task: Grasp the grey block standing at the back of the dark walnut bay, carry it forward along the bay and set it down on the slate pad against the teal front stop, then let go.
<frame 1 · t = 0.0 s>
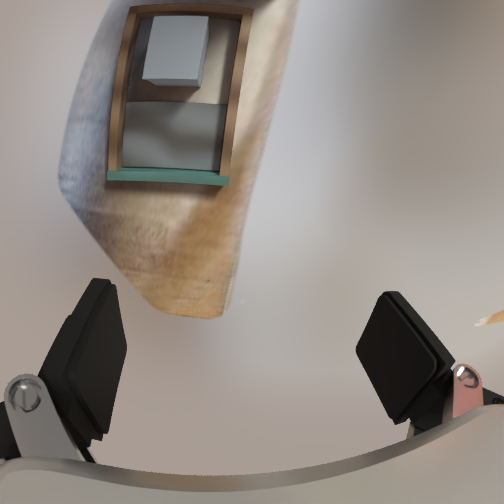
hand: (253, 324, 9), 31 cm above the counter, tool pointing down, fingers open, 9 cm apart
bay: (177, 88, 31), on the counter
grey block: (181, 58, 29), resting in bay
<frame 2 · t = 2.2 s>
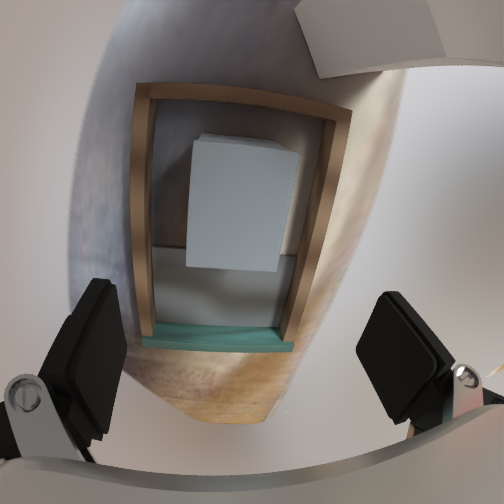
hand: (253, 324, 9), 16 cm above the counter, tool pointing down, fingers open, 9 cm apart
bay: (227, 232, 25), on the counter
milk carton: (341, 39, 18), on the counter
grey block: (232, 183, 23), resting in bay
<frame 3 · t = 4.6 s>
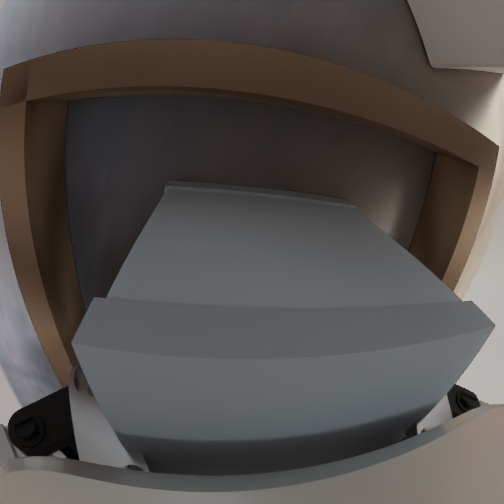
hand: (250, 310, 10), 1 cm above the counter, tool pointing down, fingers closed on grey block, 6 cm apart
bay: (236, 365, 13), on the counter
milk carton: (450, 5, 6), on the counter
grey block: (247, 291, 11), resting in bay, touching gripper
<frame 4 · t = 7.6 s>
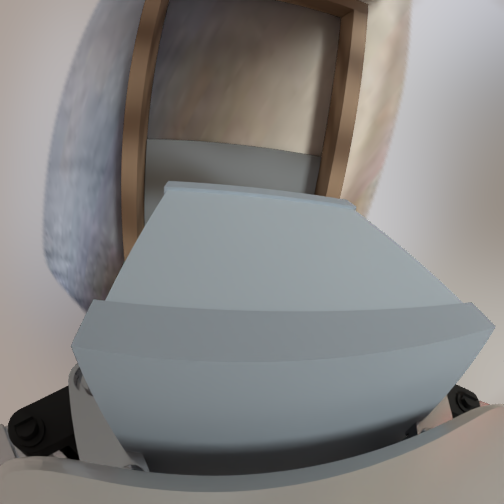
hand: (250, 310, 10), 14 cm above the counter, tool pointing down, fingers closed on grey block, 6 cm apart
bay: (239, 120, 19), on the counter
grey block: (247, 292, 11), point 13 cm above the counter, touching gripper
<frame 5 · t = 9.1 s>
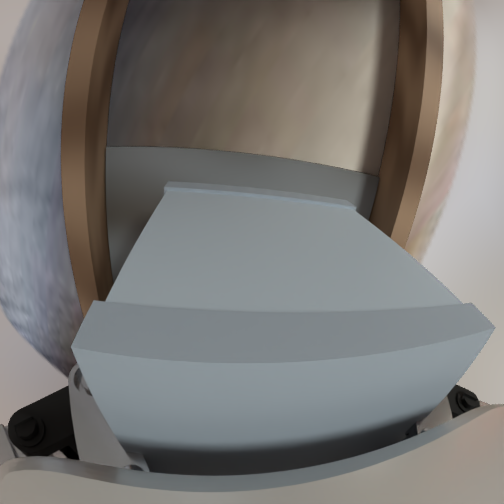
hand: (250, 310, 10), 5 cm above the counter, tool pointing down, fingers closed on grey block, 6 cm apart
bay: (257, 114, 11), on the counter
grey block: (247, 292, 11), point 4 cm above the counter, touching gripper
when the fingers open (3 cm above the counter, at t = 10.5 s): grey block drops 1 cm, resting on bay.
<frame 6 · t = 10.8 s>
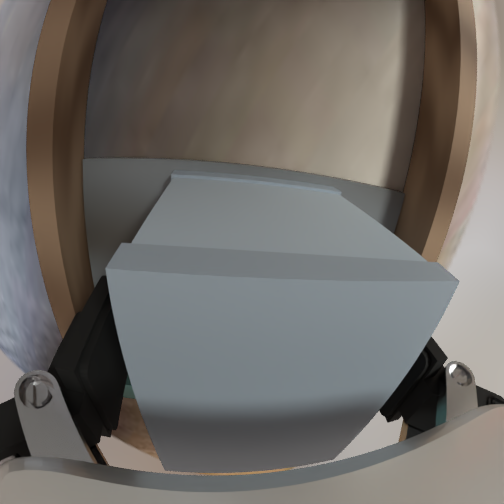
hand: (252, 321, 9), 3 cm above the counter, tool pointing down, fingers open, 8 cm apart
bay: (265, 117, 9), on the counter
grey block: (244, 272, 12), resting on bay
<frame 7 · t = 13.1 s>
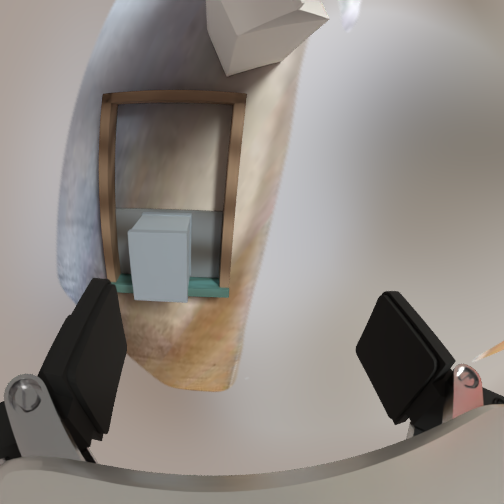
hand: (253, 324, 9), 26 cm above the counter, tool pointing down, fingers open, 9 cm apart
bay: (167, 194, 32), on the counter
milk carton: (244, 44, 26), on the counter
grey block: (167, 243, 35), resting on bay
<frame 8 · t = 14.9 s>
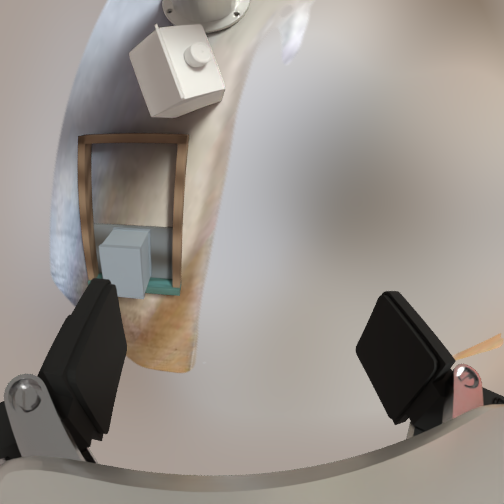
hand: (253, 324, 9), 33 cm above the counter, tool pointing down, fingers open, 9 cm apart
bay: (131, 213, 40), on the counter
milk carton: (190, 87, 33), on the counter
grey block: (133, 251, 42), resting on bay
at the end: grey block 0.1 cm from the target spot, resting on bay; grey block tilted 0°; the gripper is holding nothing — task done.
